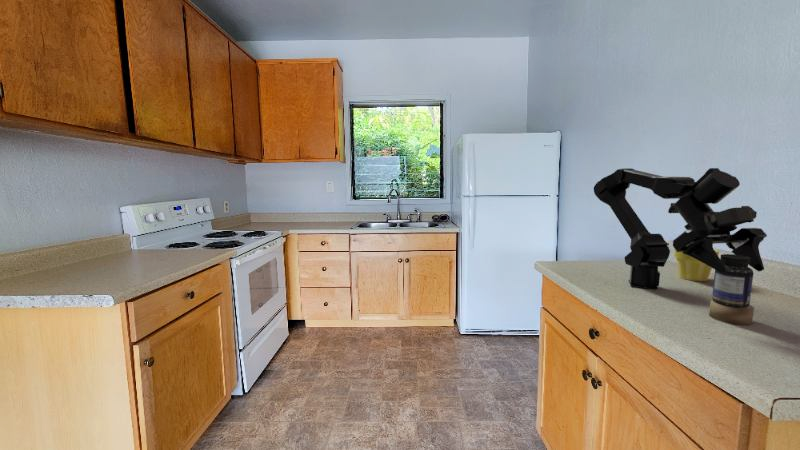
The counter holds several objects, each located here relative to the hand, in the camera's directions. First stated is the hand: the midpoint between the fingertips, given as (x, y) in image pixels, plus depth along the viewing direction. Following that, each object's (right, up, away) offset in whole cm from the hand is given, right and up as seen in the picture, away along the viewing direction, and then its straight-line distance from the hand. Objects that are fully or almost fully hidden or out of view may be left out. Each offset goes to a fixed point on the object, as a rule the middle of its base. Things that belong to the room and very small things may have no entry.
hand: (743, 271), depth 73 cm
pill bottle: (0, -8, +3) cm, 8 cm away
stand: (0, -11, +3) cm, 12 cm away
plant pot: (+19, -7, +34) cm, 39 cm away
